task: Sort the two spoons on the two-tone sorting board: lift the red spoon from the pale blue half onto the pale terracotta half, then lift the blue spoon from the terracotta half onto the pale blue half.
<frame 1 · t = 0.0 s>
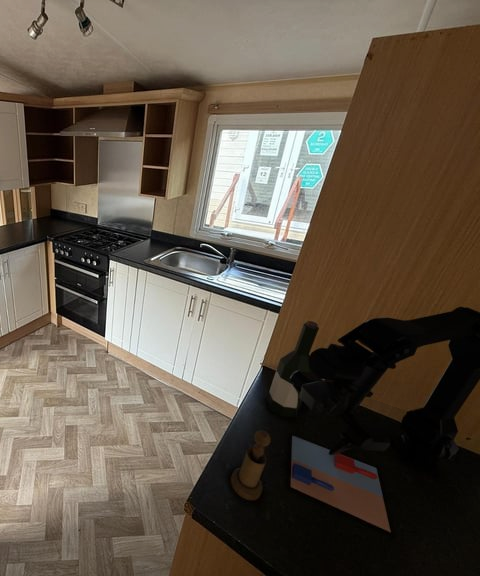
hand: (313, 435, 67), 15 cm above the worktop, tool pointing down, fingers open, 9 cm apart
red spoon: (353, 469, 76), point 1 cm above the worktop, touching sorting board
mortar and pestle: (245, 487, 73), on the worktop
wine bottle: (280, 408, 94), on the worktop
sorting board: (333, 478, 74), on the worktop
blue spoon: (310, 480, 73), point 1 cm above the worktop, touching sorting board
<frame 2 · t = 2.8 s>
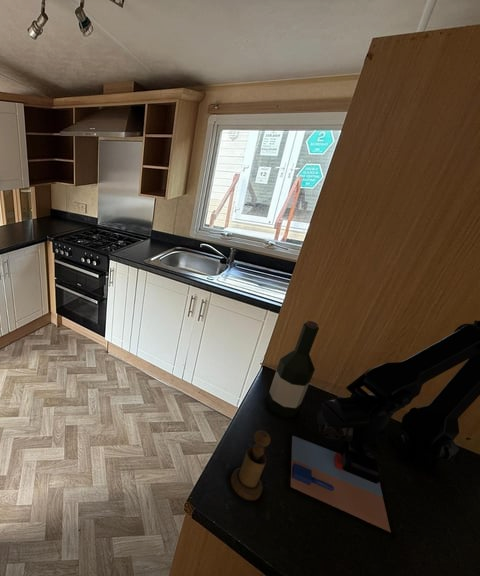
hand: (344, 464, 76), 1 cm above the worktop, tool pointing down, fingers closed on red spoon, 3 cm apart
red spoon: (353, 469, 76), point 1 cm above the worktop, touching gripper, sorting board
everything else where it was.
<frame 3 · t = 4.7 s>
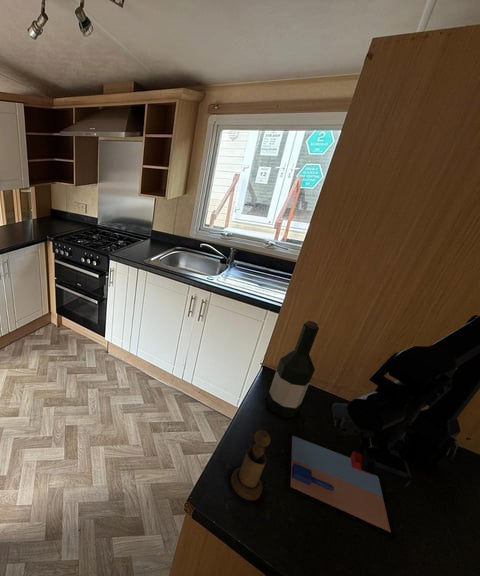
hand: (362, 463, 67), 11 cm above the worktop, tool pointing down, fingers closed on red spoon, 3 cm apart
red spoon: (373, 470, 66), point 10 cm above the worktop, touching gripper
everything else where it was.
when the fingers open (1 cm above the worktop, at t = 7.1 s): red spoon stays where it is, resting on sorting board.
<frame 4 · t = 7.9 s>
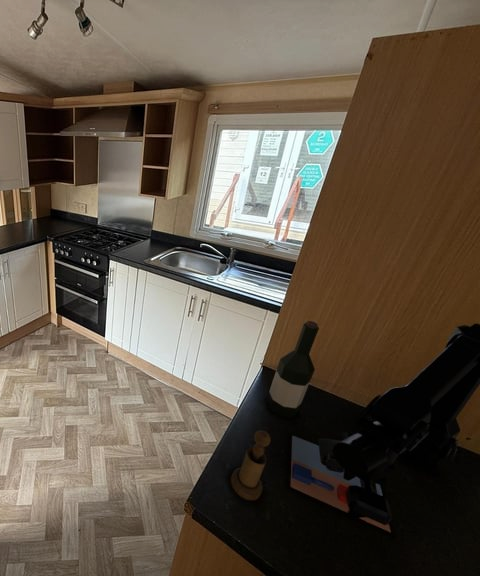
hand: (348, 496, 69), 1 cm above the worktop, tool pointing down, fingers open, 9 cm apart
red spoon: (358, 503, 69), point 1 cm above the worktop, touching sorting board
everything else where it was.
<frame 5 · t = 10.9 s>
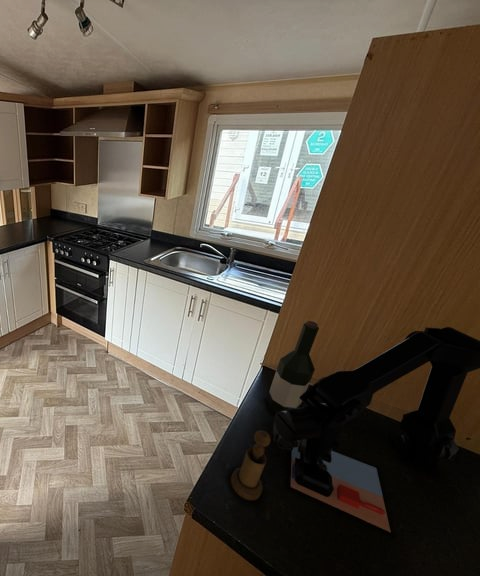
hand: (301, 474, 74), 1 cm above the worktop, tool pointing down, fingers closed on blue spoon, 3 cm apart
blue spoon: (310, 480, 73), point 1 cm above the worktop, touching gripper, sorting board
everything else where it was.
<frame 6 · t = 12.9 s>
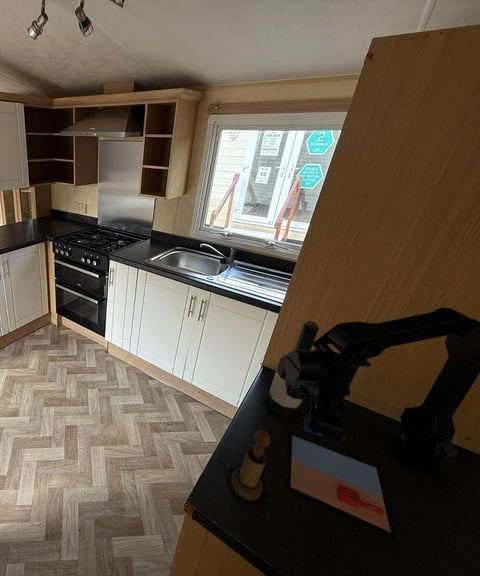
hand: (313, 427, 75), 10 cm above the worktop, tool pointing down, fingers closed on blue spoon, 3 cm apart
blue spoon: (321, 432, 75), point 10 cm above the worktop, touching gripper
everything else where it was.
when the fingers open (1 cm above the worktop, at t = 15.2 s): blue spoon stays where it is, resting on sorting board.
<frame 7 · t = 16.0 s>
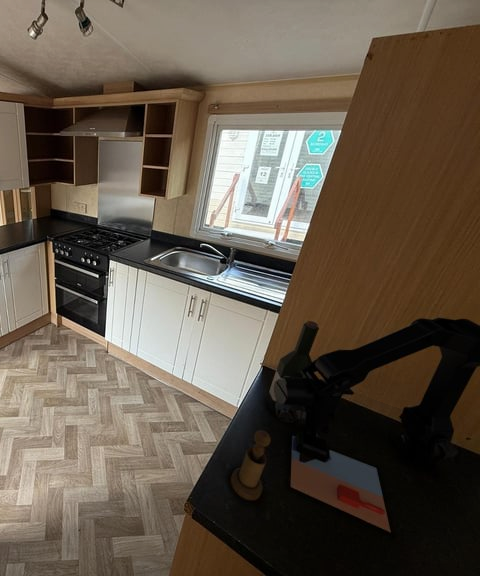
hand: (301, 447, 80), 1 cm above the worktop, tool pointing down, fingers open, 9 cm apart
blue spoon: (309, 452, 80), point 1 cm above the worktop, touching sorting board
everything else where it was.
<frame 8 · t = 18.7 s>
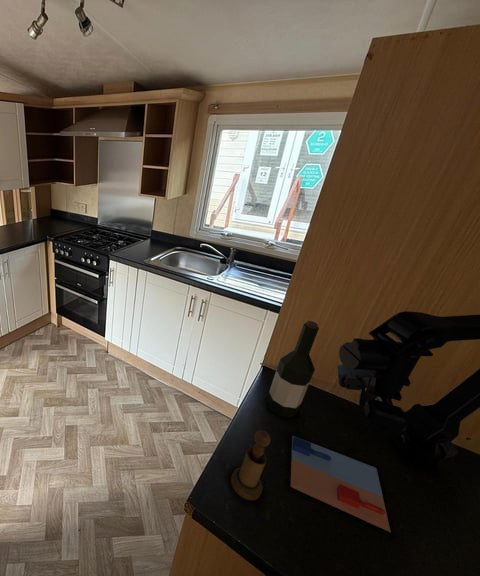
hand: (364, 418, 74), 13 cm above the worktop, tool pointing down, fingers open, 9 cm apart
nothing on the worktop moved.
at the end: red spoon inside the target area (4.0 cm from its centre), point 0.6 cm above the worktop; blue spoon inside the target area (5.0 cm from its centre), point 0.6 cm above the worktop; the gripper is holding nothing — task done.
